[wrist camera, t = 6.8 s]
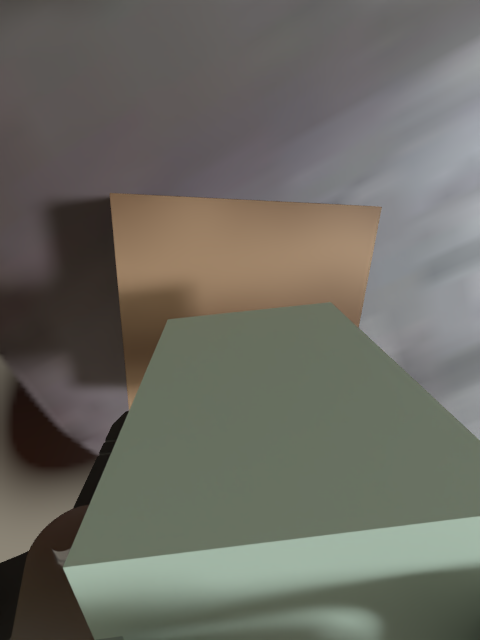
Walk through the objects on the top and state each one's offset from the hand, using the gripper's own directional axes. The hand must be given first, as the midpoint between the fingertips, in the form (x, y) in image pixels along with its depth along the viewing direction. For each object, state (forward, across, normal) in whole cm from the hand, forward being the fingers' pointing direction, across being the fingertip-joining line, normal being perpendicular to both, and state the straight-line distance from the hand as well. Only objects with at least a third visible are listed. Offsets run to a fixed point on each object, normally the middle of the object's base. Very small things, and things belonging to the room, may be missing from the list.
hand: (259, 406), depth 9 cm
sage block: (+1, 0, 0) cm, 1 cm away
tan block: (+11, 0, 0) cm, 11 cm away
